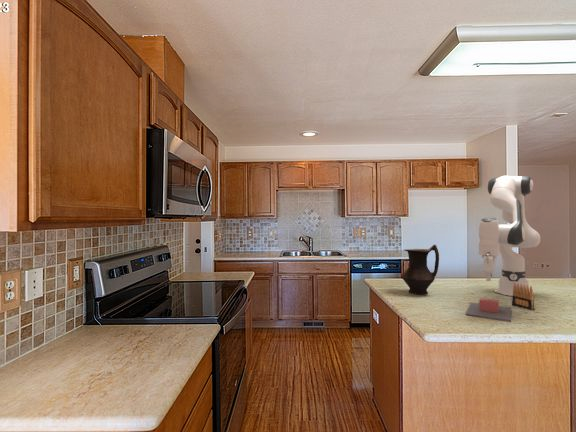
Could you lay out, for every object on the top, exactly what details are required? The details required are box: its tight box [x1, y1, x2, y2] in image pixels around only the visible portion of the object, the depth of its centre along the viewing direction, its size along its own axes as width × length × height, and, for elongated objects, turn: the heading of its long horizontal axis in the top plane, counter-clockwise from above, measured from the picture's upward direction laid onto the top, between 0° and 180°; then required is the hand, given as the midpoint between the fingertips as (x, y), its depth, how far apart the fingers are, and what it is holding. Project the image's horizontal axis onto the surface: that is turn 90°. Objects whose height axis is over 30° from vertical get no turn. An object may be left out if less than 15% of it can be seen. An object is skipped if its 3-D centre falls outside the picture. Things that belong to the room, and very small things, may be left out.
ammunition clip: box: [511, 283, 535, 311], centre depth 176 cm, size 11×2×12 cm, turn 17°
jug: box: [401, 244, 440, 296], centre depth 206 cm, size 21×18×30 cm
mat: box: [465, 302, 512, 322], centre depth 168 cm, size 24×18×1 cm
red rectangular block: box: [478, 298, 500, 313], centre depth 168 cm, size 8×4×5 cm, turn 57°
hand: (489, 279), depth 168 cm, fingers open, 8 cm apart
